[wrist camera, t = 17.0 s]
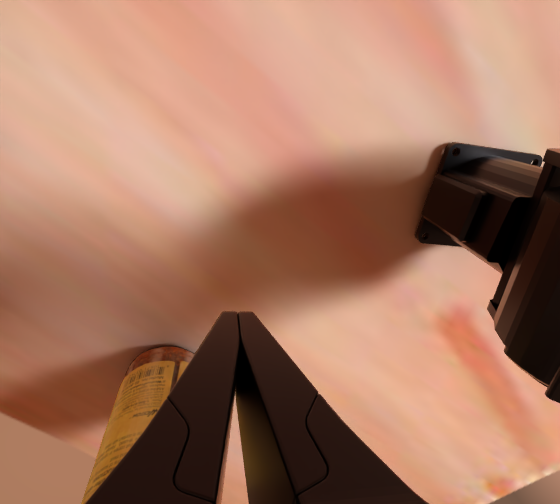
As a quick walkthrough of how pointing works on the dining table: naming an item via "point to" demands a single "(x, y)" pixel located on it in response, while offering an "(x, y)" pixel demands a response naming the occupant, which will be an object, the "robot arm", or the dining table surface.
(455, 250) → the dining table surface
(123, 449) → the sauce bottle
